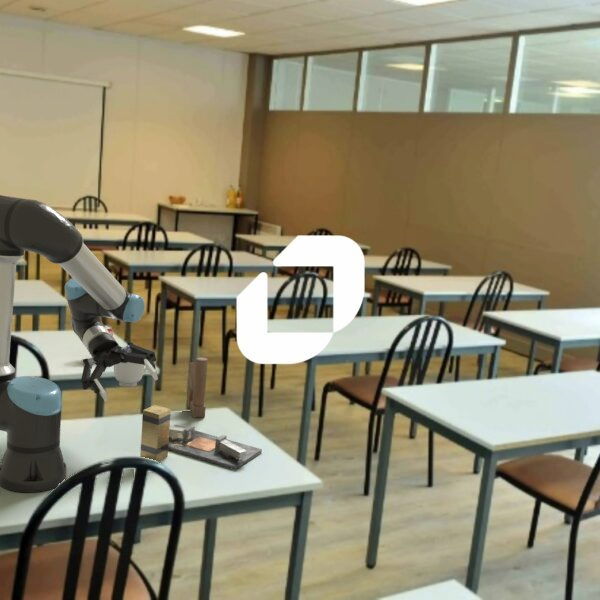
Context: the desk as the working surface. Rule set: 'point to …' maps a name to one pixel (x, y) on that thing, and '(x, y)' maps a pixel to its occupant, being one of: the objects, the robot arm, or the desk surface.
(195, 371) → the wooden block
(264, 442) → the desk surface
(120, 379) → the teacup
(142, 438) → the banded tan block
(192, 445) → the base
